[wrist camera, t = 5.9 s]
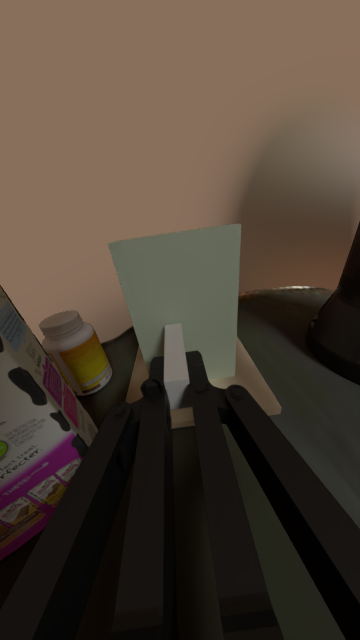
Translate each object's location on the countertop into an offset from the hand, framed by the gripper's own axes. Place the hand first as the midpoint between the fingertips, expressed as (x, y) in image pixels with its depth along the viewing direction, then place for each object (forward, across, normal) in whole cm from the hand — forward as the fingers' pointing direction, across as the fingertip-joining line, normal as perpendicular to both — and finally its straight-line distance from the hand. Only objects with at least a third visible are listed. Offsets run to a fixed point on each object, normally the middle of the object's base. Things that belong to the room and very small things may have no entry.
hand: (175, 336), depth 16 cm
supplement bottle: (+4, -13, -9) cm, 16 cm away
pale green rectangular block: (+2, +1, -7) cm, 8 cm away
